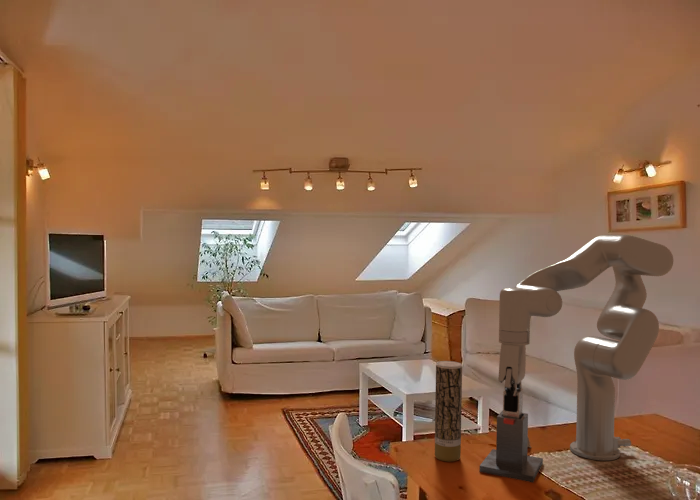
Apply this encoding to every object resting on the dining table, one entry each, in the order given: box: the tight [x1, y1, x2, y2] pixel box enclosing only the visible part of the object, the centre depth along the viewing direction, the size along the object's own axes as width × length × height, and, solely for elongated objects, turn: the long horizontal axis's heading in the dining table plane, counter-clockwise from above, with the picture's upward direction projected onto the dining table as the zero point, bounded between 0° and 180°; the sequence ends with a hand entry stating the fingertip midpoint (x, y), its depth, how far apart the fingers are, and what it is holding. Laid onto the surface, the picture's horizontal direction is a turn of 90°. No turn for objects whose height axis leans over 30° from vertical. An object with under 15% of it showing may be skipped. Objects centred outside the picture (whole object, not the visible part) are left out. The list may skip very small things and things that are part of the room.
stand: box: [479, 409, 544, 483], centre depth 148 cm, size 13×13×14 cm
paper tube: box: [434, 360, 463, 463], centre depth 154 cm, size 7×7×25 cm
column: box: [502, 388, 524, 419], centre depth 148 cm, size 4×4×18 cm
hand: (512, 408), depth 148 cm, fingers closed on column, 4 cm apart
